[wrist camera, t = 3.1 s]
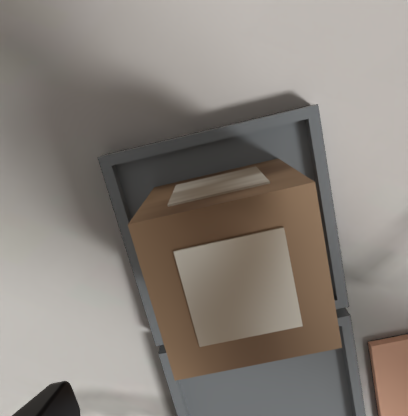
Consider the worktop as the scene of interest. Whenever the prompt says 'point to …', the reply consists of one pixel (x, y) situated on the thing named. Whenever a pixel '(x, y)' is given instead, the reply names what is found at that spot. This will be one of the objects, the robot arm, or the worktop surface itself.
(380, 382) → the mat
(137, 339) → the worktop surface
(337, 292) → the tray
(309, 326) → the cardboard box
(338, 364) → the tray
